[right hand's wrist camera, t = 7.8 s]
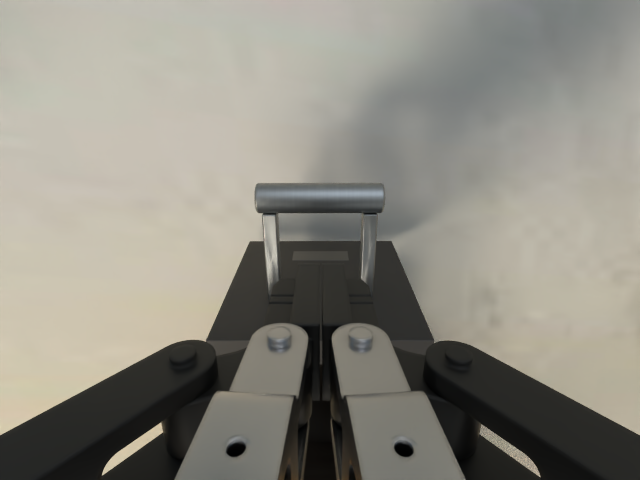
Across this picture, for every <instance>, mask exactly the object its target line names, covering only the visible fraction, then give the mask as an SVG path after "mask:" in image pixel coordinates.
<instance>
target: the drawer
mask: <svg viewBox="0 0 640 480" xmlns="http://www.w3.org/2000/svg"><path fill="white" fill-rule="evenodd" d="M384 205H385V189H384V185H383V184H382V183H258V184H257V185H256V187H255V207H256V211H257V212H258V213H263V215H262V222H263V236H264V241H250V242H249V245H248V247H247V249H246V252H245V254H244V256H243V258H242V261H241V263H240V265H239V267H238V270H237V272H236V274H235V276H234V279H233V281H232V283H231V285H230V288H229V290H228V292H227V295H226V297H225V299H224V301H223V304H222V306H221V308H220V310H219V313H218V315H217V317H216V319H215V322H214V324H213V326H212V328H211V331H210V333H209V335H208V337H207V340H206V342H207V343H209V344H211V345H212V346H213V347H214V348H215V351H216V356H217V355H222V354H227V353H231V352H235V351H239V350H242V349H244V348H246V347H247V346H248V344H249V341H250V339H251V337H252V335H253V334H254V333H255V332H256V331H257V330H258V329H260V328H262V327H263V324H264V320H265V316H266V312H267V308H268V304H269V300H270V297H271V292H272V288H273V286H274V285H275V284H276V283H277V282H278V281H279V280H280V279H281V278H296V274H297V267H298V264H320V401H312V413H311V416H310V419H309V436H308V444H307V452H306V460H305V468H304V476H303V480H337V476H336V468H335V460H334V452H333V444H332V436H331V403H330V400H322V264H344V267H345V274H346V278H361V279H362V280H363V281H364V282H365V283H366V284H367V285H368V286H369V288H370V292H371V296H372V300H373V304H374V307H375V311H376V315H377V319H378V323H379V326H380V329H382V330H383V331H384V332H385V333H386V334H387V335H388V337H389V339H390V341H391V344H392V345H393V346H395V347H397V348H399V349H402V350H404V351H408V352H412V353H417V354H421V355H425V354H426V350H427V348H428V347H429V346H430V345H432V344H434V339H433V336H432V334H431V332H430V329H429V327H428V325H427V323H426V320H425V318H424V316H423V313H422V311H421V309H420V306H419V304H418V302H417V299H416V297H415V295H414V292H413V290H412V288H411V285H410V283H409V281H408V278H407V276H406V274H405V271H404V269H403V267H402V264H401V262H400V260H399V257H398V255H397V253H396V250H395V248H394V246H393V244H392V241H376V236H377V219H378V215H377V213H381V212H383V210H384ZM278 213H362V220H361V241H279V221H278Z"/></svg>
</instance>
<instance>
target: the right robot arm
mask: <svg viewBox="0 0 640 480" xmlns="http://www.w3.org/2000/svg"><path fill="white" fill-rule="evenodd" d="M322 400H330V403H331V436H332V444H333V452H334V460H335V468H336V476H337V480H640V435H638V434H636V433H634V432H632V431H630V430H629V429H627V428H625V427H623V426H621V425H619V424H617V423H615V422H614V421H612V420H610V419H608V418H606V417H604V416H602V415H600V414H599V413H597V412H595V411H593V410H591V409H589V408H587V407H585V406H584V405H582V404H580V403H578V402H576V401H574V400H572V399H570V398H569V397H567V396H565V395H563V394H561V393H559V392H557V391H555V390H554V389H552V388H550V387H548V386H546V385H544V384H542V383H540V382H539V381H537V380H535V379H533V378H531V377H529V376H527V375H525V374H524V373H522V372H520V371H518V370H516V369H514V368H512V367H510V366H509V365H507V364H505V363H503V362H501V361H499V360H497V359H495V358H494V357H492V356H490V355H488V354H486V353H484V352H482V351H480V350H479V349H477V348H475V347H473V346H471V345H468V344H465V343H461V342H457V341H440V342H436V343H434V344H432V345H430V346H429V347H428V348H427V350H426V354H425V355H421V354H417V353H412V352H408V351H404V350H402V349H399V348H397V347H395V346H393V345H392V344H391V341H390V339H389V337H388V335H387V334H386V333H385V332H384V331H383V330H382V329H380V326H379V323H378V319H377V315H376V311H375V307H374V304H373V300H372V296H371V292H370V288H369V286H368V285H367V284H366V283H365V282H364V281H363V280H362V279H361V278H346V274H345V267H344V264H322ZM312 401H320V264H298V267H297V274H296V278H281V279H280V280H279V281H278V282H277V283H276V284H275V285H274V286H273V288H272V292H271V297H270V300H269V304H268V308H267V312H266V316H265V320H264V324H263V327H262V328H260V329H258V330H257V331H256V332H255V333H254V334H253V335H252V337H251V339H250V341H249V344H248V346H247V347H246V348H244V349H242V350H239V351H235V352H231V353H227V354H222V355H217V356H216V351H215V348H214V347H213V346H212V345H211V344H209V343H207V342H204V341H200V340H186V341H181V342H177V343H174V344H171V345H169V346H167V347H165V348H163V349H161V350H160V351H158V352H156V353H154V354H152V355H150V356H148V357H146V358H145V359H143V360H141V361H139V362H137V363H135V364H133V365H131V366H130V367H128V368H126V369H124V370H122V371H120V372H118V373H116V374H115V375H113V376H111V377H109V378H107V379H105V380H103V381H101V382H100V383H98V384H96V385H94V386H92V387H90V388H88V389H86V390H85V391H83V392H81V393H79V394H77V395H75V396H73V397H71V398H70V399H68V400H66V401H64V402H62V403H60V404H58V405H56V406H55V407H53V408H51V409H49V410H47V411H45V412H43V413H41V414H40V415H38V416H36V417H34V418H32V419H30V420H28V421H26V422H25V423H23V424H21V425H19V426H17V427H15V428H13V429H11V430H10V431H8V432H6V433H4V434H2V435H0V480H303V476H304V468H305V460H306V452H307V444H308V436H309V419H310V416H311V413H312ZM159 423H162V428H163V433H162V434H160V435H159V436H158V437H156V438H155V439H153V440H152V441H151V442H149V443H148V444H146V445H145V446H144V447H142V448H141V449H139V450H138V451H137V452H135V453H134V454H132V455H131V456H130V457H128V458H127V459H125V460H124V461H123V462H121V463H120V464H118V465H117V466H115V467H114V468H113V469H111V470H110V471H108V472H107V473H106V474H104V475H103V476H102V472H103V469H104V467H105V465H106V464H107V462H108V461H109V460H110V459H111V458H112V456H114V455H115V454H116V453H117V452H118V451H120V450H121V449H123V448H124V447H126V446H127V445H128V444H130V443H131V442H133V441H134V440H136V439H137V438H139V437H140V436H142V435H143V434H144V433H146V432H147V431H149V430H150V429H152V428H153V427H155V426H156V425H158V424H159ZM481 424H482V425H484V426H485V427H487V428H488V429H490V430H491V431H493V432H494V433H496V434H497V435H498V436H500V437H501V438H503V439H504V440H506V441H507V442H509V443H510V444H512V445H513V446H514V447H516V448H517V449H519V450H520V451H522V452H523V453H524V454H526V455H527V456H528V457H529V458H530V459H531V460H532V461H533V462H534V464H535V465H536V467H537V468H538V470H539V473H540V476H541V478H540V477H539V476H537V475H536V474H534V473H533V472H532V471H530V470H529V469H527V468H526V467H525V466H523V465H522V464H520V463H519V462H517V461H516V460H515V459H513V458H512V457H510V456H509V455H508V454H506V453H505V452H503V451H502V450H501V449H499V448H498V447H496V446H495V445H494V444H492V443H491V442H489V441H488V440H487V439H485V438H484V437H482V436H481V435H480V434H479V433H480V428H481Z"/></svg>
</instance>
